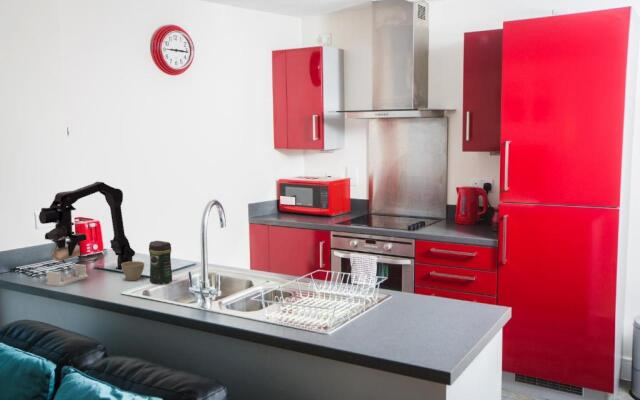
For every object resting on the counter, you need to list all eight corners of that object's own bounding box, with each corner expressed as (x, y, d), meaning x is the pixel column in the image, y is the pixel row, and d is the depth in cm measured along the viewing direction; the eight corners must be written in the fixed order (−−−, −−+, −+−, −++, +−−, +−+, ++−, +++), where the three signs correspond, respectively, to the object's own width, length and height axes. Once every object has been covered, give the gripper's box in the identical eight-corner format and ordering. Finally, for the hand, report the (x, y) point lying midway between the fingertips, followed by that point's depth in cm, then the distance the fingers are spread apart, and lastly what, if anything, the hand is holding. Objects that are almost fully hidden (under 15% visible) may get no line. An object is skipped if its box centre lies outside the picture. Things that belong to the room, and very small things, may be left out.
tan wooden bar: (79, 255, 275) (79, 245, 275) (60, 261, 264) (59, 250, 264) (72, 254, 277) (72, 245, 276) (52, 260, 266) (52, 250, 265)
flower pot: (126, 283, 268) (126, 267, 267) (118, 278, 276) (117, 263, 275) (148, 279, 274) (147, 264, 273) (139, 275, 282) (138, 260, 281)
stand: (88, 277, 278) (87, 265, 278) (60, 286, 262) (59, 273, 262) (74, 275, 281) (74, 263, 280) (46, 284, 265) (45, 272, 265)
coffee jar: (175, 281, 270) (174, 240, 268) (161, 285, 264) (160, 243, 261) (160, 278, 276) (159, 238, 273) (146, 282, 269) (145, 241, 267)
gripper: (34, 222, 264) (36, 257, 266) (67, 225, 258) (69, 261, 260) (53, 218, 275) (55, 252, 277) (86, 221, 268) (88, 255, 270)
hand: (66, 255), depth 270 cm, fingers closed on tan wooden bar, 4 cm apart
